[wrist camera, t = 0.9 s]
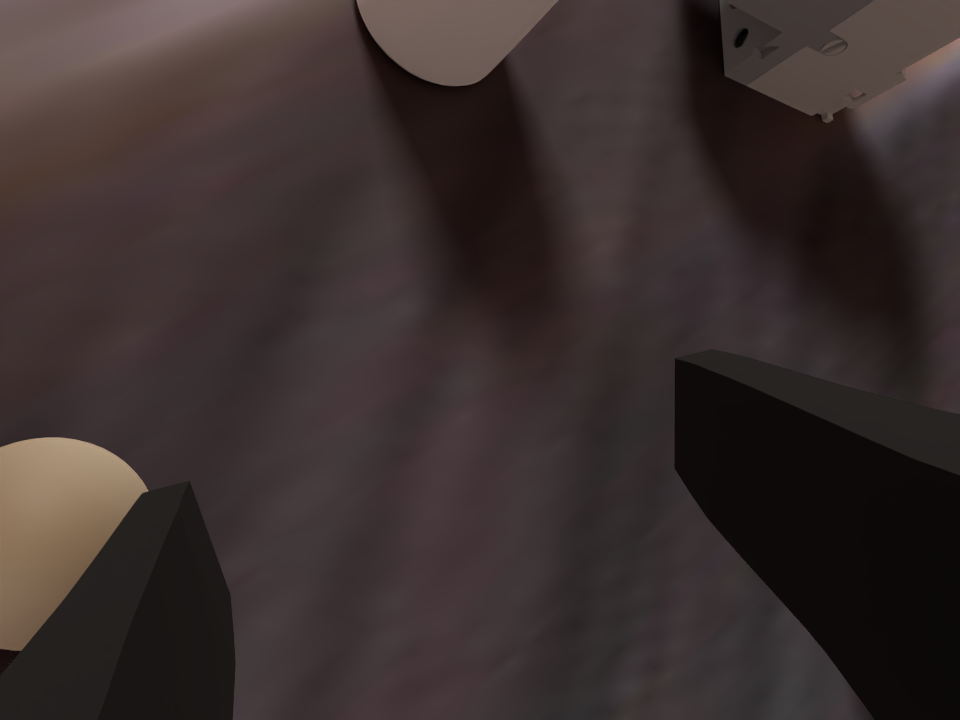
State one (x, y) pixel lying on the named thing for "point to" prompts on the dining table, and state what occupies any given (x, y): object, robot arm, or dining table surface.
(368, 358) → the dining table surface
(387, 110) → the dining table surface
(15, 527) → the maple peg
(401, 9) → the can
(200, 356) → the dining table surface
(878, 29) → the circuit breaker
